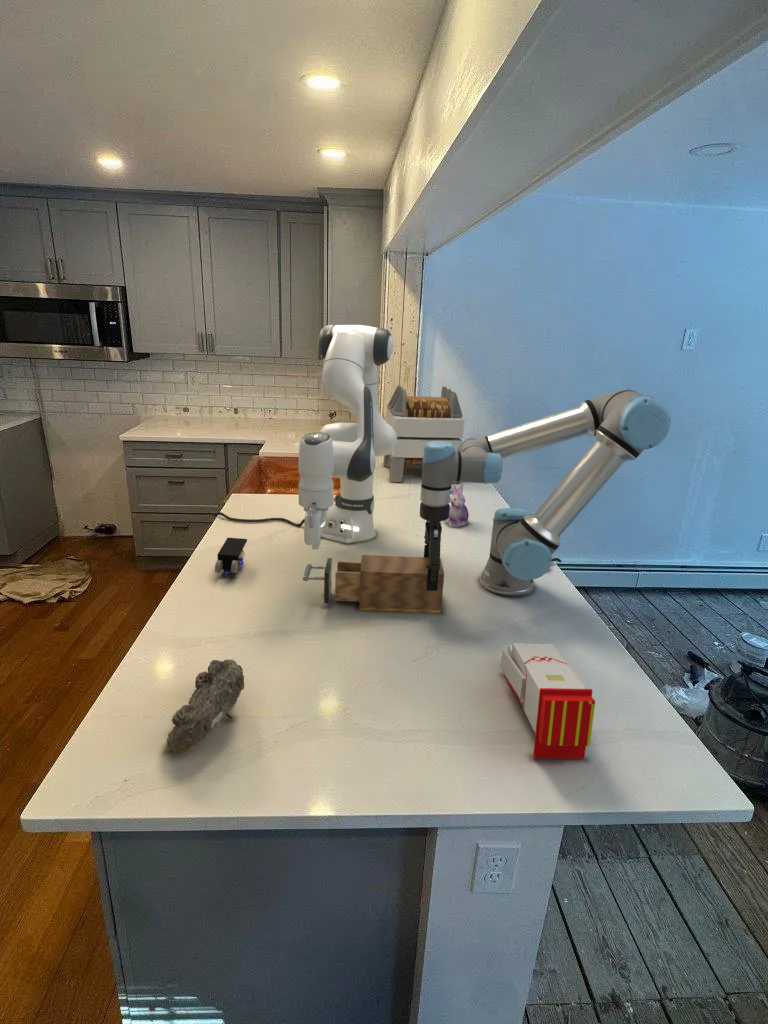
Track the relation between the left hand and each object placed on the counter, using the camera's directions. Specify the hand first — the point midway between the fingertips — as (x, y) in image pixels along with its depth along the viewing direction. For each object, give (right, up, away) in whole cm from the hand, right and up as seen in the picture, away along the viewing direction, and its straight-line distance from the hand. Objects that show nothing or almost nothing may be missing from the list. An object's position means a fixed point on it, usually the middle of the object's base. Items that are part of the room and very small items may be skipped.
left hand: (316, 547), depth 148 cm
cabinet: (+22, -15, +5) cm, 27 cm away
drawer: (+9, -14, +5) cm, 17 cm away
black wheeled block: (-27, -8, +19) cm, 34 cm away
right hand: (+30, -8, +3) cm, 31 cm away
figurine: (+45, +5, +64) cm, 78 cm away
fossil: (-15, -30, -40) cm, 52 cm away
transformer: (+35, +28, +127) cm, 134 cm away
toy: (+49, -30, -34) cm, 67 cm away
